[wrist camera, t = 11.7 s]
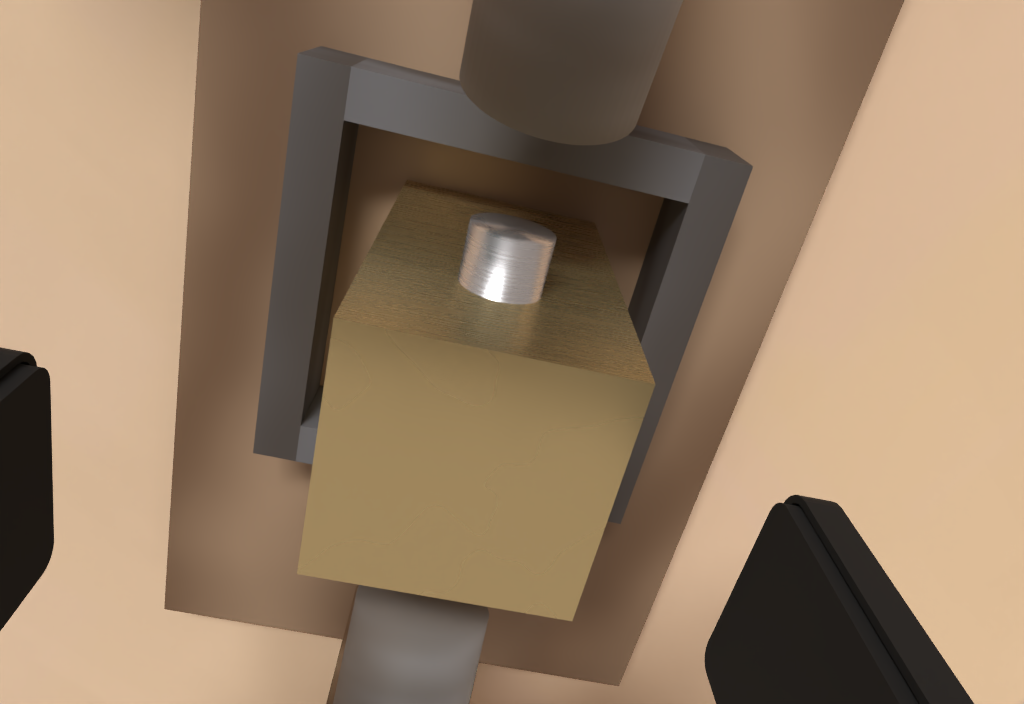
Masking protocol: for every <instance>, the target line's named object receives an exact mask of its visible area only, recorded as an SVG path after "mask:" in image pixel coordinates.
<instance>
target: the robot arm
mask: <svg viewBox="0 0 1024 704" xmlns="http://www.w3.org/2000/svg"><path fill="white" fill-rule="evenodd" d="M53 545H54V524H53V481H52V438H51V394H50V376H49V373H48V371H47V370H46V369H45V368H41V367H37V364H36V361H35V359H34V357H33V356H32V355H31V354H30V353H27V352H21V351H16V350H10V349H5V348H0V631H1V629H2V628H3V627H4V625H5V624H6V623H7V621H8V620H9V619H10V617H11V616H12V615H13V613H14V612H15V611H16V609H17V608H18V607H19V605H20V604H21V603H22V601H23V600H24V598H25V597H26V596H27V594H28V593H29V592H30V590H31V589H32V588H33V586H34V585H35V584H36V582H37V581H38V580H39V578H40V577H41V576H42V574H43V573H44V571H45V569H46V567H47V565H48V563H49V561H50V558H51V555H52V551H53ZM705 669H706V673H707V676H708V679H709V683H710V686H711V689H712V692H713V695H714V698H715V701H716V704H974V703H973V701H972V700H971V698H970V697H969V695H968V694H967V693H966V691H965V690H964V688H963V687H962V685H961V684H960V682H959V681H958V679H957V678H956V676H955V675H954V673H953V672H952V670H951V669H950V667H949V666H948V664H947V663H946V661H945V660H944V659H943V657H942V656H941V654H940V653H939V651H938V650H937V648H936V647H935V645H934V644H933V642H932V641H931V639H930V638H929V636H928V635H927V633H926V632H925V630H924V629H923V628H922V626H921V625H920V623H919V622H918V620H917V619H916V617H915V616H914V614H913V613H912V611H911V610H910V608H909V607H908V605H907V604H906V602H905V601H904V599H903V598H902V596H901V595H900V594H899V592H898V591H897V589H896V588H895V586H894V585H893V583H892V582H891V580H890V579H889V577H888V576H887V574H886V573H885V571H884V570H883V568H882V567H881V565H880V564H879V563H878V561H877V560H876V558H875V557H874V555H873V554H872V552H871V551H870V549H869V548H868V546H867V545H866V543H865V542H864V540H863V539H862V537H861V536H860V534H859V533H858V531H857V530H856V529H855V527H854V526H853V524H852V523H851V521H850V520H849V518H848V517H847V515H846V514H845V512H844V511H843V509H842V508H841V507H840V506H839V505H838V504H837V503H835V502H832V501H826V500H821V499H816V498H810V497H805V496H799V495H793V496H790V497H789V498H788V499H787V500H785V502H784V503H777V504H776V505H774V506H773V508H772V509H771V511H770V513H769V515H768V517H767V519H766V521H765V523H764V525H763V527H762V529H761V532H760V534H759V536H758V538H757V540H756V542H755V544H754V546H753V548H752V551H751V553H750V555H749V557H748V559H747V561H746V563H745V565H744V567H743V570H742V572H741V574H740V576H739V578H738V580H737V582H736V584H735V586H734V589H733V591H732V593H731V595H730V597H729V599H728V601H727V603H726V605H725V608H724V610H723V612H722V614H721V616H720V618H719V620H718V622H717V624H716V627H715V629H714V631H713V633H712V635H711V637H710V639H709V641H708V644H707V647H706V652H705Z"/></svg>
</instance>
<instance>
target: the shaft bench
mask: <svg viewBox="0 0 1024 704" xmlns="http://www.w3.org/2000/svg"><path fill="white" fill-rule="evenodd" d="M903 2H904V0H201V9H200V25H199V42H198V59H197V75H196V92H195V109H194V125H193V142H192V159H191V175H190V192H189V209H188V225H187V242H186V259H185V275H184V292H183V309H182V325H181V342H180V359H179V375H178V392H177V409H176V425H175V442H174V458H173V475H172V492H171V508H170V525H169V542H168V558H167V575H166V592H165V608H164V609H167V610H173V611H179V612H185V613H191V614H197V615H203V616H209V617H215V618H220V619H226V620H232V621H238V622H244V623H250V624H256V625H262V626H268V627H273V628H279V629H285V630H291V631H297V632H303V633H309V634H315V635H321V636H326V637H332V638H338V639H343V641H342V644H341V648H340V652H339V656H338V660H337V664H336V668H335V672H334V676H333V680H332V684H331V688H330V692H329V696H328V700H327V704H469V702H470V698H471V694H472V689H473V685H474V680H475V676H476V672H477V667H478V663H485V664H491V665H497V666H503V667H509V668H515V669H521V670H527V671H532V672H538V673H544V674H550V675H556V676H562V677H568V678H574V679H580V680H585V681H591V682H597V683H603V684H609V685H615V686H619V684H620V682H621V679H622V677H623V674H624V672H625V670H626V667H627V665H628V662H629V660H630V658H631V655H632V653H633V650H634V648H635V646H636V643H637V641H638V638H639V636H640V634H641V631H642V629H643V626H644V624H645V622H646V619H647V617H648V614H649V612H650V610H651V607H652V605H653V602H654V600H655V598H656V595H657V593H658V590H659V588H660V586H661V583H662V581H663V578H664V576H665V574H666V571H667V569H668V566H669V564H670V562H671V559H672V557H673V554H674V552H675V550H676V547H677V545H678V542H679V540H680V538H681V535H682V533H683V530H684V528H685V526H686V523H687V521H688V518H689V516H690V514H691V511H692V509H693V506H694V504H695V502H696V499H697V497H698V494H699V492H700V490H701V487H702V485H703V482H704V480H705V478H706V475H707V473H708V470H709V468H710V465H711V463H712V461H713V458H714V456H715V453H716V451H717V449H718V446H719V444H720V441H721V439H722V437H723V434H724V432H725V429H726V427H727V425H728V422H729V420H730V417H731V415H732V413H733V410H734V408H735V405H736V403H737V401H738V398H739V396H740V393H741V391H742V389H743V386H744V384H745V381H746V379H747V377H748V374H749V372H750V369H751V367H752V365H753V362H754V360H755V357H756V355H757V353H758V350H759V348H760V345H761V343H762V341H763V338H764V336H765V333H766V331H767V329H768V326H769V324H770V321H771V319H772V317H773V314H774V312H775V309H776V307H777V305H778V302H779V300H780V297H781V295H782V293H783V290H784V288H785V285H786V283H787V281H788V278H789V276H790V273H791V271H792V269H793V266H794V264H795V261H796V259H797V257H798V254H799V252H800V249H801V247H802V245H803V242H804V240H805V237H806V235H807V233H808V230H809V228H810V225H811V223H812V221H813V218H814V216H815V213H816V211H817V209H818V206H819V204H820V201H821V199H822V197H823V194H824V192H825V189H826V187H827V185H828V182H829V180H830V177H831V175H832V173H833V170H834V168H835V165H836V163H837V161H838V158H839V156H840V153H841V151H842V149H843V146H844V144H845V141H846V139H847V136H848V134H849V132H850V129H851V127H852V124H853V122H854V120H855V117H856V115H857V112H858V110H859V108H860V105H861V103H862V100H863V98H864V96H865V93H866V91H867V88H868V86H869V84H870V81H871V79H872V76H873V74H874V72H875V69H876V67H877V64H878V62H879V60H880V57H881V55H882V52H883V50H884V48H885V45H886V43H887V40H888V38H889V36H890V33H891V31H892V28H893V26H894V24H895V21H896V19H897V16H898V14H899V12H900V9H901V7H902V4H903ZM406 180H409V181H413V182H418V183H422V184H427V185H431V186H435V187H440V188H444V189H449V190H453V191H457V192H462V193H466V194H471V195H475V196H479V197H484V198H488V199H493V200H497V201H501V202H506V203H510V204H515V205H519V206H523V207H528V208H532V209H537V210H541V211H545V212H550V213H554V214H559V215H563V216H567V217H572V218H576V219H581V220H585V221H589V222H594V223H595V224H596V227H597V230H598V232H599V235H600V238H601V240H602V243H603V246H604V248H605V251H606V254H607V256H608V259H609V262H610V264H611V267H612V270H613V272H614V275H615V278H616V280H617V283H618V286H619V288H620V291H621V294H622V296H623V299H624V302H625V304H626V307H627V310H628V312H629V315H630V318H631V320H632V323H633V326H634V328H635V331H636V333H637V336H638V339H639V341H640V344H641V347H642V349H643V352H644V355H645V357H646V360H647V363H648V365H649V368H650V371H651V373H652V376H653V379H654V381H655V387H654V390H653V393H652V396H651V399H650V401H649V404H648V407H647V410H646V413H645V416H644V419H643V421H642V424H641V427H640V430H639V433H638V436H637V438H636V441H635V444H634V447H633V450H632V453H631V456H630V458H629V461H628V464H627V467H626V470H625V473H624V475H623V478H622V481H621V484H620V487H619V490H618V493H617V495H616V498H615V501H614V504H613V507H612V510H611V512H610V515H609V518H608V521H607V524H606V527H605V529H604V532H603V535H602V538H601V541H600V544H599V547H598V549H597V552H596V555H595V558H594V561H593V564H592V566H591V569H590V572H589V575H588V578H587V581H586V584H585V586H584V589H583V592H582V595H581V598H580V601H579V603H578V606H577V609H576V612H575V615H574V618H573V621H567V620H561V619H556V618H550V617H544V616H538V615H532V614H526V613H521V612H515V611H509V610H503V609H497V608H491V607H486V606H480V605H474V604H468V603H462V602H457V601H451V600H445V599H439V598H433V597H427V596H422V595H416V594H410V593H404V592H398V591H393V590H387V589H381V588H375V587H369V586H363V585H358V584H352V583H346V582H340V581H334V580H329V579H323V578H317V577H311V576H305V575H299V574H297V570H298V563H299V556H300V549H301V542H302V535H303V528H304V521H305V514H306V507H307V500H308V493H309V486H310V479H311V472H312V465H313V458H314V451H315V444H316V437H317V430H318V423H319V416H320V409H321V402H322V395H323V388H324V381H325V374H326V367H327V360H328V353H329V346H330V339H331V332H332V325H333V318H334V316H335V314H336V312H337V310H338V308H339V306H340V305H341V303H342V301H343V299H344V297H345V295H346V293H347V291H348V290H349V288H350V286H351V284H352V282H353V280H354V278H355V276H356V274H357V273H358V271H359V269H360V267H361V265H362V263H363V261H364V259H365V257H366V256H367V254H368V252H369V250H370V248H371V246H372V244H373V242H374V240H375V239H376V237H377V235H378V233H379V231H380V229H381V227H382V225H383V223H384V222H385V220H386V218H387V216H388V214H389V212H390V210H391V208H392V207H393V205H394V203H395V201H396V199H397V197H398V195H399V193H400V191H401V190H402V188H403V186H404V184H405V182H406Z"/></svg>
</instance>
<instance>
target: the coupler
mask: <svg viewBox="0 0 1024 704" xmlns="http://www.w3.org/2000/svg"><path fill="white" fill-rule="evenodd" d="M654 387H655V381H654V379H653V376H652V373H651V371H650V368H649V365H648V363H647V360H646V357H645V355H644V352H643V349H642V347H641V344H640V341H639V339H638V336H637V333H636V331H635V328H634V326H633V323H632V320H631V318H630V315H629V312H628V310H627V307H626V304H625V302H624V299H623V296H622V294H621V291H620V288H619V286H618V283H617V280H616V278H615V275H614V272H613V270H612V267H611V264H610V262H609V259H608V256H607V254H606V251H605V248H604V246H603V243H602V240H601V238H600V235H599V232H598V230H597V227H596V224H595V223H594V222H589V221H585V220H581V219H576V218H572V217H567V216H563V215H559V214H554V213H550V212H545V211H541V210H537V209H532V208H528V207H523V206H519V205H515V204H510V203H506V202H501V201H497V200H493V199H488V198H484V197H479V196H475V195H471V194H466V193H462V192H457V191H453V190H449V189H444V188H440V187H435V186H431V185H427V184H422V183H418V182H413V181H409V180H406V182H405V184H404V186H403V188H402V190H401V191H400V193H399V195H398V197H397V199H396V201H395V203H394V205H393V207H392V208H391V210H390V212H389V214H388V216H387V218H386V220H385V222H384V223H383V225H382V227H381V229H380V231H379V233H378V235H377V237H376V239H375V240H374V242H373V244H372V246H371V248H370V250H369V252H368V254H367V256H366V257H365V259H364V261H363V263H362V265H361V267H360V269H359V271H358V273H357V274H356V276H355V278H354V280H353V282H352V284H351V286H350V288H349V290H348V291H347V293H346V295H345V297H344V299H343V301H342V303H341V305H340V306H339V308H338V310H337V312H336V314H335V316H334V318H333V325H332V332H331V339H330V346H329V353H328V360H327V367H326V374H325V381H324V388H323V395H322V402H321V409H320V416H319V423H318V430H317V437H316V444H315V451H314V458H313V465H312V472H311V479H310V486H309V493H308V500H307V507H306V514H305V521H304V528H303V535H302V542H301V549H300V556H299V563H298V570H297V574H299V575H305V576H311V577H317V578H323V579H329V580H334V581H340V582H346V583H352V584H358V585H363V586H369V587H375V588H381V589H387V590H393V591H398V592H404V593H410V594H416V595H422V596H427V597H433V598H439V599H445V600H451V601H457V602H462V603H468V604H474V605H480V606H486V607H491V608H497V609H503V610H509V611H515V612H521V613H526V614H532V615H538V616H544V617H550V618H556V619H561V620H567V621H573V618H574V615H575V612H576V609H577V606H578V603H579V601H580V598H581V595H582V592H583V589H584V586H585V584H586V581H587V578H588V575H589V572H590V569H591V566H592V564H593V561H594V558H595V555H596V552H597V549H598V547H599V544H600V541H601V538H602V535H603V532H604V529H605V527H606V524H607V521H608V518H609V515H610V512H611V510H612V507H613V504H614V501H615V498H616V495H617V493H618V490H619V487H620V484H621V481H622V478H623V475H624V473H625V470H626V467H627V464H628V461H629V458H630V456H631V453H632V450H633V447H634V444H635V441H636V438H637V436H638V433H639V430H640V427H641V424H642V421H643V419H644V416H645V413H646V410H647V407H648V404H649V401H650V399H651V396H652V393H653V390H654Z"/></svg>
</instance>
